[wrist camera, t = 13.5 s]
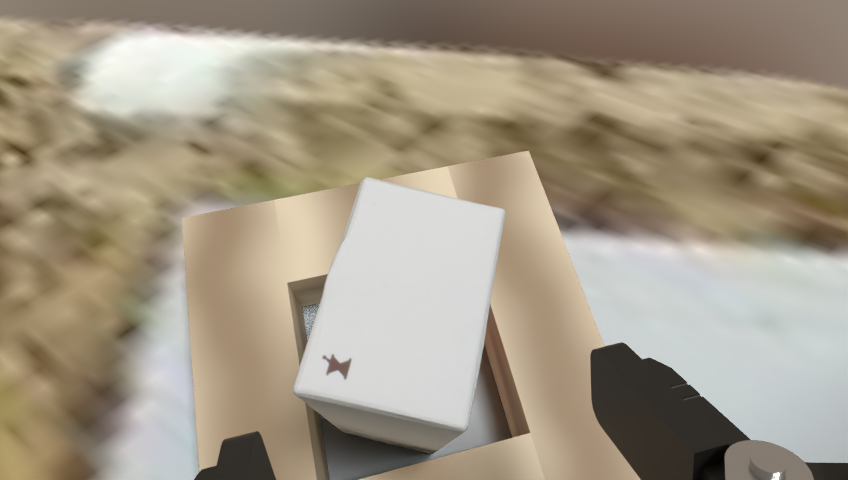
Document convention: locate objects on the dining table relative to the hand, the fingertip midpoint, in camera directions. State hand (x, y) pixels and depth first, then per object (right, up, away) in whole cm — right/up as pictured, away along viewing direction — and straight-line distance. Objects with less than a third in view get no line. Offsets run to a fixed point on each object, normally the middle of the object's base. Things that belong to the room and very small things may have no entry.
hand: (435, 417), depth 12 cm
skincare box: (-1, -2, +12) cm, 12 cm away
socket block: (-1, -2, +11) cm, 12 cm away
